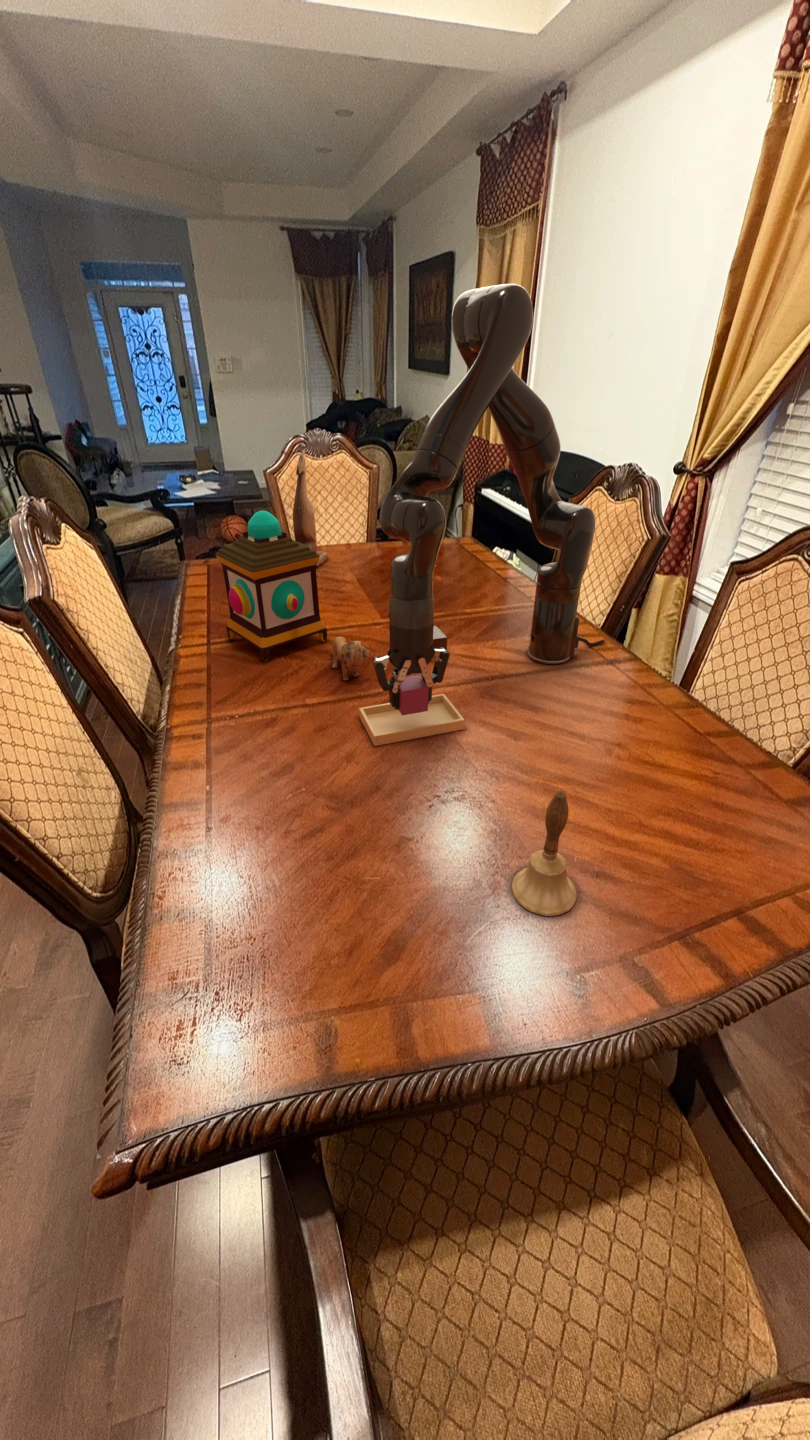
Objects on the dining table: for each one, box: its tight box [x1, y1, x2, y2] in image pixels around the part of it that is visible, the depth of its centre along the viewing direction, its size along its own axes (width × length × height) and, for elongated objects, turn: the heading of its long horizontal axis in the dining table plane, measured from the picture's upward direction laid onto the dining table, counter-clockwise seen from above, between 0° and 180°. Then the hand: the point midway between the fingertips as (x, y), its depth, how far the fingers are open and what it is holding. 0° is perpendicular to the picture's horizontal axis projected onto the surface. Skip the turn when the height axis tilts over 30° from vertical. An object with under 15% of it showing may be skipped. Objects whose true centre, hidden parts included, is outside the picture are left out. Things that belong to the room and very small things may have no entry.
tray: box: [358, 693, 466, 747], centre depth 113 cm, size 17×10×2 cm, turn 109°
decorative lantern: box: [215, 510, 328, 662], centre depth 137 cm, size 20×20×30 cm
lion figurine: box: [329, 636, 371, 681], centre depth 129 cm, size 15×5×9 cm, turn 33°
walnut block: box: [433, 625, 448, 652], centre depth 140 cm, size 7×7×4 cm
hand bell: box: [511, 790, 578, 917], centre depth 75 cm, size 8×8×16 cm
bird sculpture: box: [292, 454, 329, 568], centre depth 187 cm, size 11×12×32 cm
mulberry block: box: [398, 674, 428, 715], centre depth 110 cm, size 5×5×5 cm
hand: (410, 704), depth 111 cm, fingers closed on mulberry block, 5 cm apart
